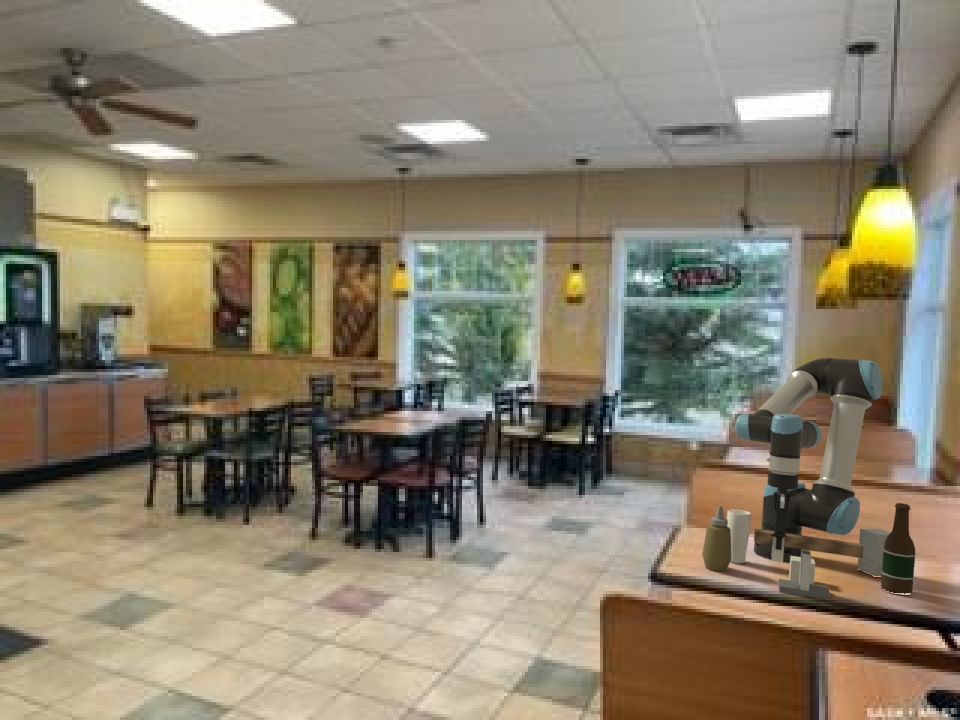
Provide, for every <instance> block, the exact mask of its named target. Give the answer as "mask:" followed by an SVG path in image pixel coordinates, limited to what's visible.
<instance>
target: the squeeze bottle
mask: <svg viewBox="0 0 960 720" xmlns="http://www.w3.org/2000/svg"><path fill="white" fill-rule="evenodd" d="M706 526H707V527H706V530H705V537H704V542H703V546H702V547H703V548H702V554H701V555H702V558H703V563H704V567H705V568H707V569H709V570H711V571H714V570H715V571H714V572H725V571H727V570H728V567H729V565H730V563H731V562H730V561H731V530H730V528H729V527H727V526H728V520H727V518H725V514H724V508H723V506H722V505H718V506H717V509H716V513H715V515H714V516H713V517H711V518H710V524H708V525H706Z"/></svg>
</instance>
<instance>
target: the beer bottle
mask: <svg viewBox="0 0 960 720" xmlns="http://www.w3.org/2000/svg"><path fill="white" fill-rule="evenodd" d="M894 508H895V513H894V520H893V526H892V529H891V531H890V532H891V533H890V534H889V535H888V536H887V538H886V540H885V542H884V548H883V561H882V574H881V578H880V587H881V589H885V590H886V591H889V592H893V593H904V594H905V593H912V594H913V590H914V589H913V588H914V587H913V586H914V576H915V573H914V572H915V565H916V564H915V563H916V562H915V561H916V547H915V543H914V541H913V539H912V537H911V536H910V522H909V521H910V510H911V506H910V505H909V504H908V503H904V502H903V503H902V502H897V503H895V505H894Z"/></svg>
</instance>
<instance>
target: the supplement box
mask: <svg viewBox="0 0 960 720" xmlns="http://www.w3.org/2000/svg"><path fill="white" fill-rule="evenodd" d="M891 532H892V531H887V530H885V529H882V528H859V542H858V543H859V544H862V545H863V558H857V566H856V567H857V568H858V569H860V570H862V571H865V572H867V573H869V574H871V575H874V576H881V574H882V561H883V548H884V542H885V540H886V538H887V536H888V535H889V534H890V533H891ZM857 568H856V569H857Z"/></svg>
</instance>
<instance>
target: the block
mask: <svg viewBox="0 0 960 720" xmlns="http://www.w3.org/2000/svg"><path fill="white" fill-rule="evenodd" d="M800 561H801V557H796V556H790V562H789V571H788V572H789V573H788V580H790V581H796V582H799V575H800ZM815 572H816V561H815V559H814V558H811V571H810V584H815Z"/></svg>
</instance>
